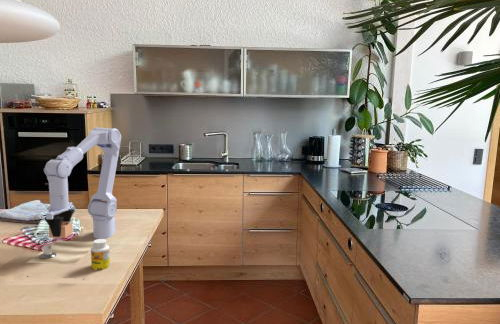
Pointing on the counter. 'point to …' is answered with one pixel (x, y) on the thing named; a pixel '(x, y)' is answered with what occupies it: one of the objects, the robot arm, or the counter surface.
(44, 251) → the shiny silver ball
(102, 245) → the supplement bottle
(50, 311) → the counter surface
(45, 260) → the beige base plate
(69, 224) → the orange hollow cube
